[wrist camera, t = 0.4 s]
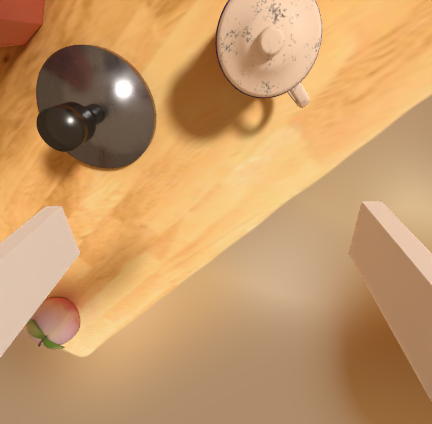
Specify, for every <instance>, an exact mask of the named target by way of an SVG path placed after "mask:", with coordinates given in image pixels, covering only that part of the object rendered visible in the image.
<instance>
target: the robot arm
mask: <svg viewBox="0 0 432 424" xmlns="http://www.w3.org/2000/svg"><path fill="white" fill-rule="evenodd" d="M79 254H80V251H79V249H78V246H77V244H76V241H75V239H74V236H73V234H72V231H71V229H70V226H69V224H68V221H67V218H66V216H65V213H64V211H63V208H62V206H45V207H44V208H43V209H42V210H40V211H39V212H38V213H37V214H36V215H34V216H33V217H32V218H31V219H29V220H28V221H27V222H26V223H25V224H23V225H22V226H21V227H20V228H18V229H17V230H16V231H15V232H14V233H12V234H11V235H10V236H9V237H7V238H6V239H5V240H4V241H3V242H1V243H0V357H1V356H2V355H3V353H4V352H5V351H6V349H7V348H8V347H9V346H10V344H11V343H12V342H13V340H14V339H15V338H16V336H17V335H18V334H19V332H20V331H21V330H22V329H23V327H24V326H25V325H26V323H27V322H28V321H29V320H30V318H31V317H32V316H33V314H34V313H35V312H36V310H37V309H38V308H39V306H40V305H41V304H42V303H43V301H44V300H45V299H46V297H47V296H48V295H49V293H50V292H51V291H52V290H53V288H54V287H55V286H56V284H57V283H58V282H59V280H60V279H61V278H62V277H63V275H64V274H65V273H66V271H67V270H68V269H69V267H70V266H71V265H72V263H73V262H74V261H75V260H76V258H77V257H78V256H79ZM349 255H350V256H351V258H352V260H353V262H354V263H355V265H356V267H357V269H358V271H359V273H360V274H361V276H362V278H363V280H364V281H365V283H366V285H367V287H368V289H369V291H370V292H371V294H372V296H373V298H374V300H375V301H376V303H377V305H378V307H379V309H380V310H381V312H382V314H383V316H384V318H385V319H386V321H387V323H388V325H389V327H390V328H391V330H392V332H393V334H394V335H395V337H396V339H397V341H398V343H399V345H400V346H401V348H402V350H403V352H404V353H405V355H406V357H407V359H408V361H409V362H410V364H411V366H412V368H413V370H414V371H415V373H416V375H417V377H418V379H419V380H420V382H421V384H422V386H423V388H424V389H425V391H426V393H427V395H428V397H429V398H430V400H431V402H432V253H431V252H430V251H429V250H428V249H427V248H426V247H425V246H424V245H423V244H422V243H421V242H420V241H419V240H418V239H417V238H416V237H415V236H414V235H413V234H412V233H411V232H410V231H409V230H408V229H407V228H406V226H405V225H404V224H402V222H401V221H400V220H399V219H398V218H397V217H396V216H395V215H394V214H393V213H392V212H391V211H390V210H389V209H388V208H387V207H386V206H385V205H384V204H383V203H382V202H381V201H370V202H369V201H366V202H362V203H361V207H360V211H359V215H358V219H357V223H356V227H355V231H354V235H353V239H352V243H351V247H350V250H349Z"/></svg>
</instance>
